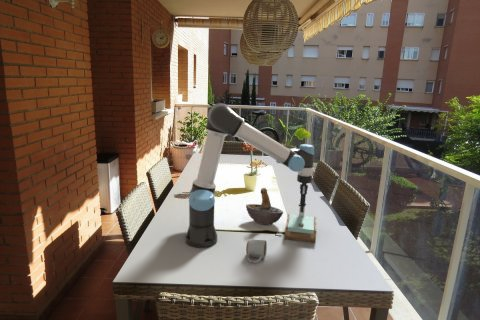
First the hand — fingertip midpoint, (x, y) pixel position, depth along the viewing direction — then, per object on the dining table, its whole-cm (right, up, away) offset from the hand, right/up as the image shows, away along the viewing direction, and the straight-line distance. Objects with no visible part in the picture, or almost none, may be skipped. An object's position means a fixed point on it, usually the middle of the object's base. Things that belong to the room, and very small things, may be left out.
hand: (301, 217), depth 184 cm
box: (-2, -7, -7) cm, 10 cm away
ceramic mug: (-26, -12, -33) cm, 44 cm away
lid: (-2, -3, -9) cm, 9 cm away
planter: (-20, -4, +4) cm, 21 cm away
